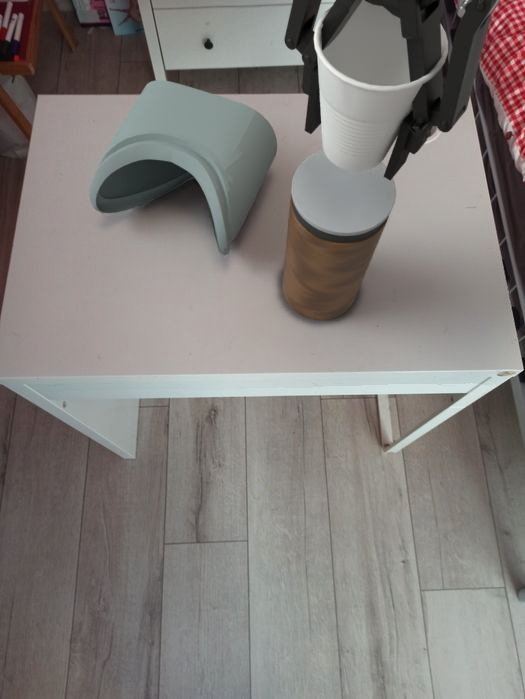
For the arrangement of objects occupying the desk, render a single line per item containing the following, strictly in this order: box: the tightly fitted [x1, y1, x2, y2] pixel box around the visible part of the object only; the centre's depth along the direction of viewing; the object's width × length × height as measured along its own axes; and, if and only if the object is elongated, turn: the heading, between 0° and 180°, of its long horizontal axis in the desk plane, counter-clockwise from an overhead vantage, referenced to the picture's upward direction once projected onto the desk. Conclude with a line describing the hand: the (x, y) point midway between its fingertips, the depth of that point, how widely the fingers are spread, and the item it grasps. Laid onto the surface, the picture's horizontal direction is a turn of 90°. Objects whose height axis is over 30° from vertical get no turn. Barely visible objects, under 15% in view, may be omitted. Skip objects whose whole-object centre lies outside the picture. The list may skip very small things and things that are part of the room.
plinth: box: [282, 192, 391, 321], centre depth 63 cm, size 11×11×20 cm
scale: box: [290, 149, 397, 243], centre depth 52 cm, size 11×11×2 cm
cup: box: [314, 0, 449, 171], centre depth 41 cm, size 10×10×11 cm
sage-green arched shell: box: [88, 79, 278, 256], centre depth 71 cm, size 22×19×13 cm
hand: (354, 145), depth 46 cm, fingers closed on cup, 8 cm apart
